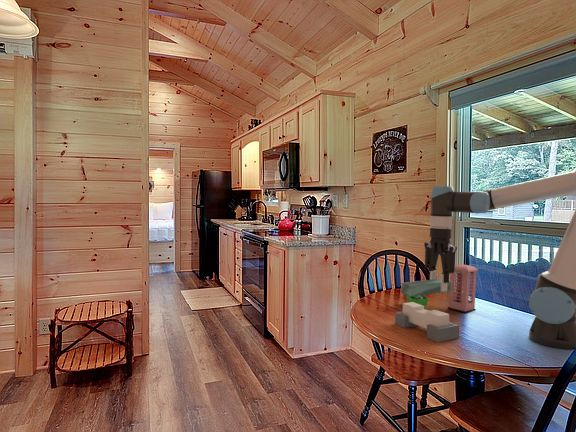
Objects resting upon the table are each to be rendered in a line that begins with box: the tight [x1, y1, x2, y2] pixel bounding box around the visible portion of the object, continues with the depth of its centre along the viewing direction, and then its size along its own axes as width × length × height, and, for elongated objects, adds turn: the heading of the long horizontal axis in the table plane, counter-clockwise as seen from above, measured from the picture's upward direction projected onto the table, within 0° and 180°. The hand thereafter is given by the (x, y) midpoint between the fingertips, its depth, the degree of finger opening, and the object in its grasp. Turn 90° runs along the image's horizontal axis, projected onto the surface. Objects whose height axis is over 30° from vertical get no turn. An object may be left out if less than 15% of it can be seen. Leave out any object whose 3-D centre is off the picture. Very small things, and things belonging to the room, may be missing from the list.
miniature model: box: [447, 264, 479, 314], centre depth 174 cm, size 9×9×20 cm
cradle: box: [394, 310, 460, 343], centre depth 146 cm, size 22×10×4 cm, turn 26°
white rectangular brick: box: [402, 302, 450, 330], centre depth 146 cm, size 18×5×6 cm, turn 26°
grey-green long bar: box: [400, 278, 451, 297], centre depth 145 cm, size 4×20×4 cm, turn 116°
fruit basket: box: [405, 295, 429, 310], centre depth 178 cm, size 11×9×11 cm
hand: (438, 289), depth 148 cm, fingers closed on grey-green long bar, 4 cm apart
